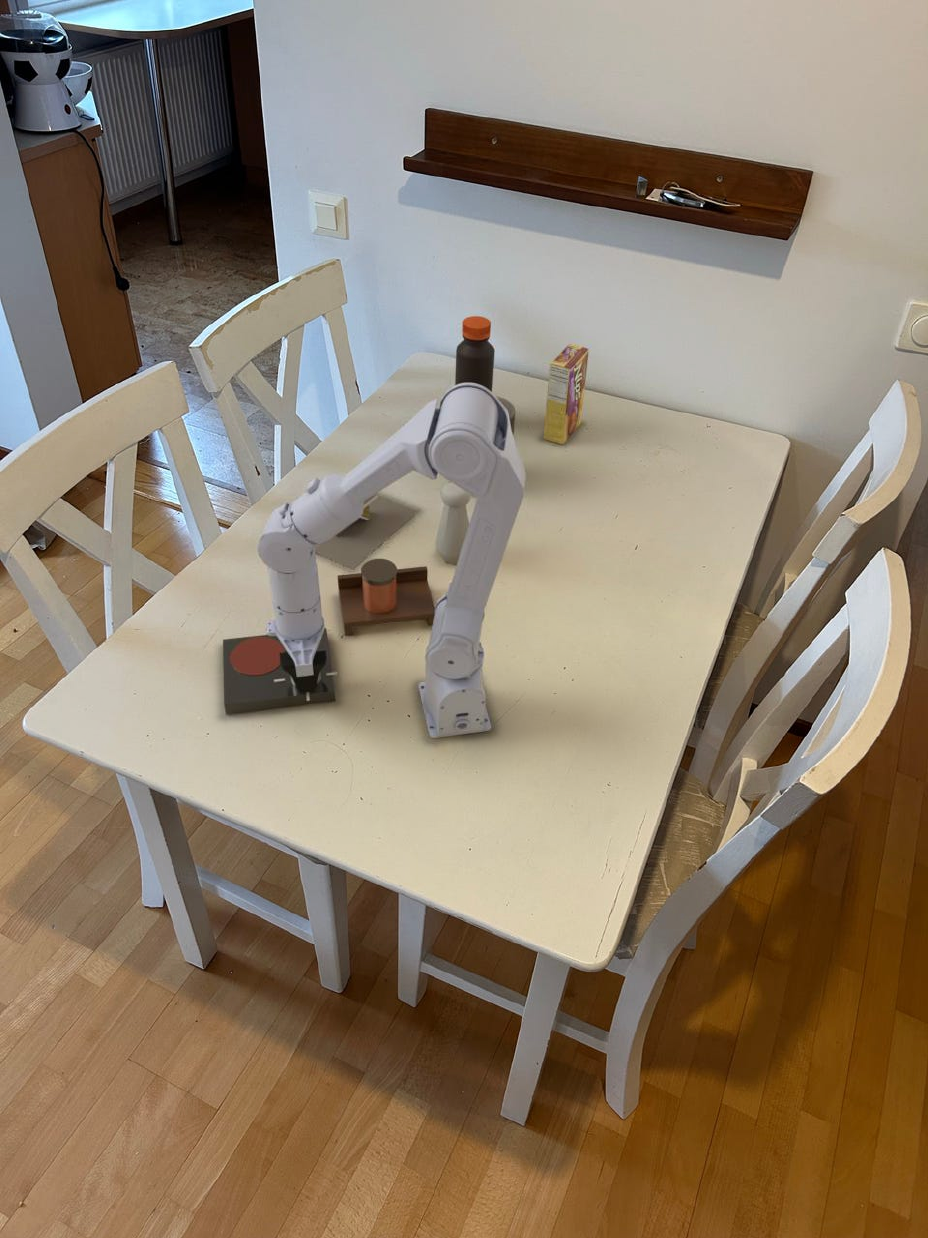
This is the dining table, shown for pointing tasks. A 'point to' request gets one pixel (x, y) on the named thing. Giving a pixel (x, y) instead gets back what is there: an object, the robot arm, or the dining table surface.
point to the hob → (271, 684)
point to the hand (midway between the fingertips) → (305, 674)
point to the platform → (366, 531)
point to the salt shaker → (452, 523)
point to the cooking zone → (256, 656)
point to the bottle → (475, 353)
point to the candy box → (565, 393)
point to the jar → (379, 585)
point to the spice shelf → (410, 606)
